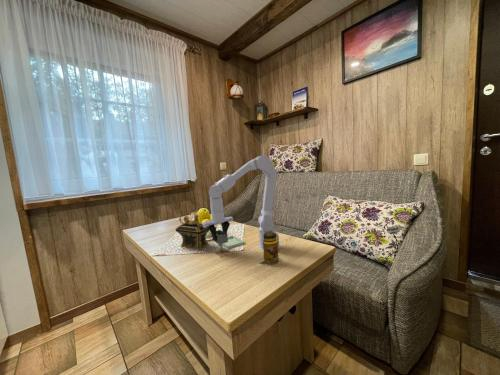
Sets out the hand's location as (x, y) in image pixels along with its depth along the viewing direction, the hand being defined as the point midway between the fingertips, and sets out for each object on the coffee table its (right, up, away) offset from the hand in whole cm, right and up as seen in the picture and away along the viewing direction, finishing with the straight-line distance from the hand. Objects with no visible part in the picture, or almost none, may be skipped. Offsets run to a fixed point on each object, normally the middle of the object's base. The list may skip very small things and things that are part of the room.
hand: (219, 238), depth 101 cm
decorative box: (-16, -7, +12) cm, 21 cm away
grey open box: (0, -1, 0) cm, 1 cm away
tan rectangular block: (+1, -7, -1) cm, 7 cm away
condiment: (+22, -7, -11) cm, 26 cm away
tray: (+4, -5, +11) cm, 12 cm away
